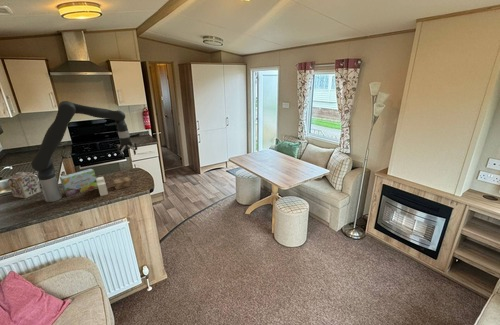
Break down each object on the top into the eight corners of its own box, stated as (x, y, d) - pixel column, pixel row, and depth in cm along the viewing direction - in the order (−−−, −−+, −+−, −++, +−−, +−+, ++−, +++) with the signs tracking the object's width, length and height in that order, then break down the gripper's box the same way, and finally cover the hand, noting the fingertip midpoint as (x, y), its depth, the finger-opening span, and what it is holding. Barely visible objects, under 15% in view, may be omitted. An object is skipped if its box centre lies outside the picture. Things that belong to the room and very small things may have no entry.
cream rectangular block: (100, 196, 177) (97, 185, 173) (98, 188, 189) (96, 178, 185) (108, 194, 179) (105, 183, 176) (105, 186, 191) (103, 176, 188)
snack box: (67, 197, 176) (61, 178, 170) (64, 194, 179) (59, 176, 173) (98, 186, 191) (93, 169, 186) (95, 184, 195) (90, 167, 189)
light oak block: (116, 190, 186) (114, 183, 184) (114, 186, 192) (113, 180, 190) (132, 186, 193) (131, 179, 191) (130, 182, 199) (129, 176, 197)
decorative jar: (25, 198, 173) (17, 176, 167) (13, 197, 175) (4, 175, 169) (42, 191, 184) (34, 170, 178) (30, 189, 186) (22, 168, 180)
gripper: (113, 139, 179) (119, 158, 185) (134, 136, 184) (138, 155, 190) (114, 136, 185) (119, 155, 191) (134, 134, 190) (138, 152, 197)
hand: (129, 155), depth 191 cm, fingers open, 8 cm apart
